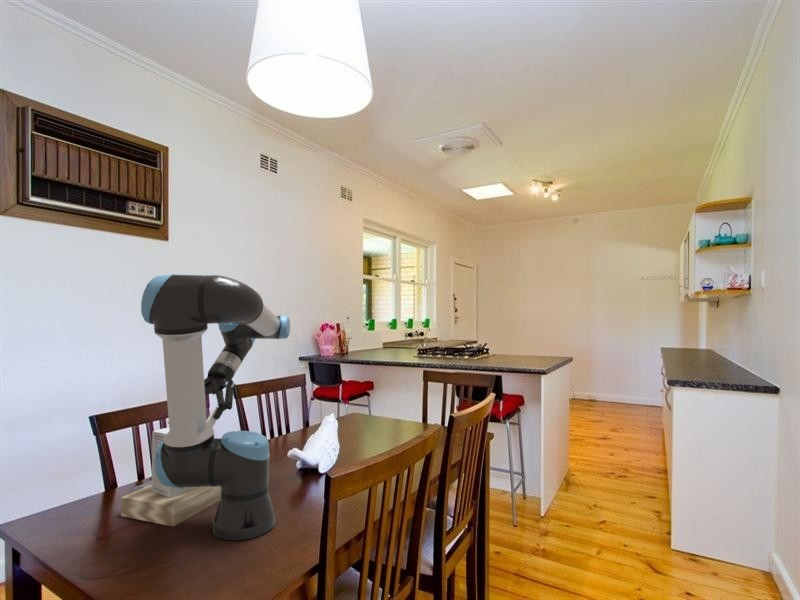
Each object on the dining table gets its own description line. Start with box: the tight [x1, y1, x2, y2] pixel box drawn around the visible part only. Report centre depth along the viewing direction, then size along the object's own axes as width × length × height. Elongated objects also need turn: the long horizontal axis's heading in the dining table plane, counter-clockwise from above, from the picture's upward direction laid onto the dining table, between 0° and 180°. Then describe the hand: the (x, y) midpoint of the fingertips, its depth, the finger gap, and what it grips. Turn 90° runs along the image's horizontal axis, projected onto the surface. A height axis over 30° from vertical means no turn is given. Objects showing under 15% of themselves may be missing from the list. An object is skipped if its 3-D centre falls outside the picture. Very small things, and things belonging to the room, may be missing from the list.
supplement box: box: [151, 427, 199, 498], centre depth 125 cm, size 10×9×17 cm
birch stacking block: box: [120, 485, 221, 527], centre depth 125 cm, size 18×18×5 cm
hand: (188, 426), depth 130 cm, fingers open, 13 cm apart
